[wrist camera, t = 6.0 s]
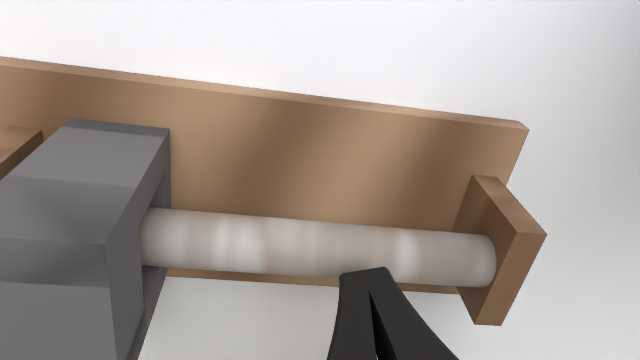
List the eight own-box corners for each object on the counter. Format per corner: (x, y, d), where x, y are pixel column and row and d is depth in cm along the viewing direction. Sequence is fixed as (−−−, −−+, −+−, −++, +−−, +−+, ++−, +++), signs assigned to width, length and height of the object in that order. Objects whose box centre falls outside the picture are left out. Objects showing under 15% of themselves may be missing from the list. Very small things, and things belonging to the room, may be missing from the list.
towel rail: (519, 121, 16) (591, 179, 12) (454, 281, 20) (494, 363, 16) (-8, 55, 14) (-119, 103, 10) (34, 254, 18) (-35, 343, 14)
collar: (169, 128, 14) (104, 244, 9) (171, 258, 17) (122, 406, 11) (71, 117, 14) (-59, 233, 8) (88, 252, 16) (-3, 403, 11)
